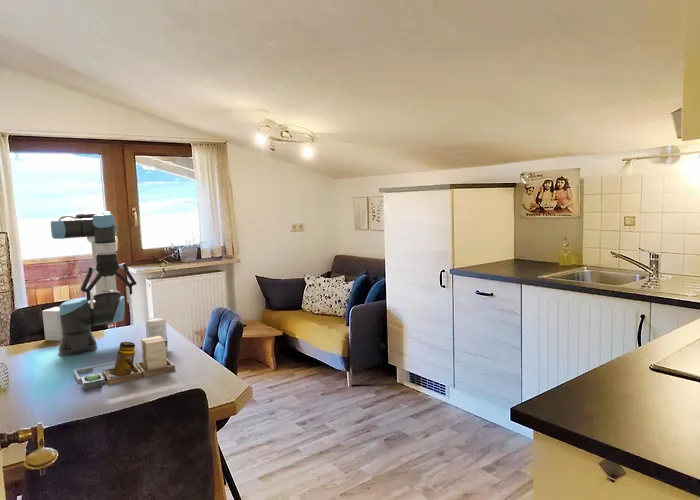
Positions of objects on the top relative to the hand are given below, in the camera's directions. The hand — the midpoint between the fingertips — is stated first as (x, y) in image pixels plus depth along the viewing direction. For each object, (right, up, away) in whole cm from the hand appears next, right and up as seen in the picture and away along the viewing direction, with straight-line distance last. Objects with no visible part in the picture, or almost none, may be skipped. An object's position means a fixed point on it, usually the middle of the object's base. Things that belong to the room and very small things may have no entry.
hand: (110, 305), depth 204 cm
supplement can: (+12, -23, +18) cm, 32 cm away
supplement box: (-47, -22, +46) cm, 70 cm away
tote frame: (-1, -26, -5) cm, 27 cm away
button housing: (+2, -28, -18) cm, 33 cm away
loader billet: (+20, -24, -6) cm, 32 cm away
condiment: (+10, -25, -13) cm, 30 cm away
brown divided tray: (+15, -26, -9) cm, 32 cm away
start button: (+2, -26, -18) cm, 32 cm away
